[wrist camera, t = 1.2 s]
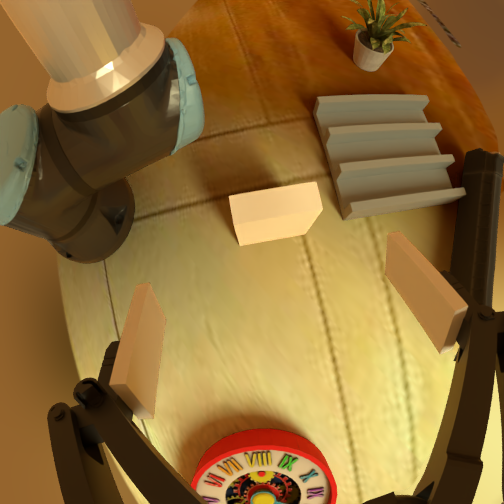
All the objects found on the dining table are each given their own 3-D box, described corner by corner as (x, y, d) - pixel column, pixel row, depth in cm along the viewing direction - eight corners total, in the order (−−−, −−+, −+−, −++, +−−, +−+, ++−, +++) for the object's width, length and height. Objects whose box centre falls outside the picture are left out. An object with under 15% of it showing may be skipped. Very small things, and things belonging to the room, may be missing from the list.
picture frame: (305, 234, 43) (322, 209, 31) (239, 245, 43) (233, 224, 31) (300, 211, 43) (315, 179, 31) (235, 223, 43) (228, 194, 31)
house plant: (308, 45, 48) (320, -22, 32) (359, 29, 49) (378, -29, 33) (359, 95, 46) (389, 30, 30) (407, 74, 47) (440, 18, 31)
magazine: (481, 361, 31) (535, 145, 26) (464, 358, 31) (520, 134, 26) (431, 320, 48) (474, 159, 43) (417, 317, 48) (461, 151, 43)
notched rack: (451, 203, 43) (466, 194, 39) (343, 220, 43) (352, 211, 38) (416, 108, 46) (426, 95, 42) (312, 113, 46) (317, 96, 41)
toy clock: (225, 421, 34) (364, 469, 32) (229, 406, 39) (352, 451, 38) (168, 518, 31) (292, 557, 29) (177, 498, 37) (289, 536, 35)
